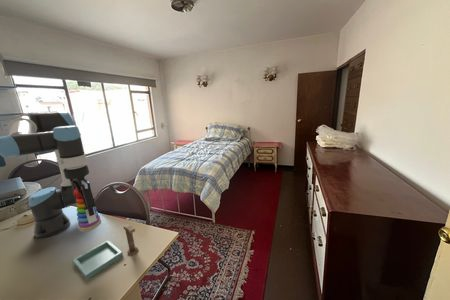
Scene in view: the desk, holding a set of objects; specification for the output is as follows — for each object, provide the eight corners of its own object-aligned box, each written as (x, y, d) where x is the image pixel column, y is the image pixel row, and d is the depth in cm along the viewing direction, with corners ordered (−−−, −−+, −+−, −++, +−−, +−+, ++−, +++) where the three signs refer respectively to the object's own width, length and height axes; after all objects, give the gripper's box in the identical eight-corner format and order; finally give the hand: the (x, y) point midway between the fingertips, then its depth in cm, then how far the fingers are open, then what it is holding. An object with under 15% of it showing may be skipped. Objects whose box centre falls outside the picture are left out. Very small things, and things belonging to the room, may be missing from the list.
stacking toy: (73, 231, 76) (61, 189, 71) (91, 219, 83) (81, 180, 79) (90, 233, 74) (78, 190, 70) (106, 221, 82) (97, 181, 77)
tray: (74, 264, 81) (73, 259, 81) (108, 244, 92) (107, 240, 92) (87, 280, 73) (85, 275, 73) (123, 256, 84) (122, 251, 84)
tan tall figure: (125, 252, 86) (120, 227, 83) (134, 246, 90) (130, 222, 87) (132, 258, 83) (127, 232, 80) (142, 252, 86) (137, 226, 83)
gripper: (55, 165, 75) (69, 215, 81) (72, 174, 64) (88, 232, 69) (77, 160, 81) (89, 207, 87) (97, 167, 69) (109, 221, 75)
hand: (88, 218), depth 78 cm, fingers closed on stacking toy, 7 cm apart
